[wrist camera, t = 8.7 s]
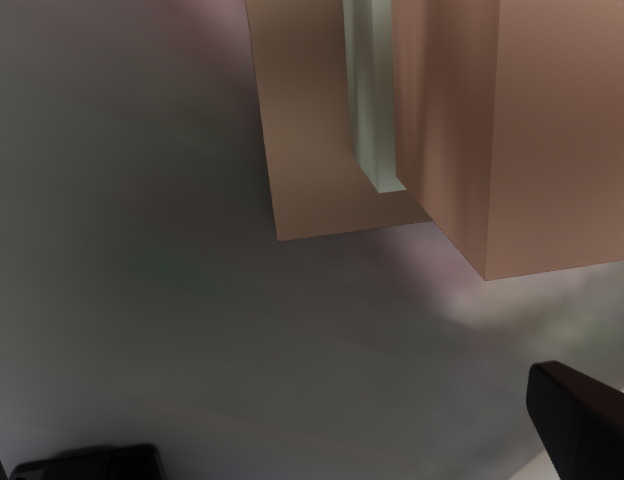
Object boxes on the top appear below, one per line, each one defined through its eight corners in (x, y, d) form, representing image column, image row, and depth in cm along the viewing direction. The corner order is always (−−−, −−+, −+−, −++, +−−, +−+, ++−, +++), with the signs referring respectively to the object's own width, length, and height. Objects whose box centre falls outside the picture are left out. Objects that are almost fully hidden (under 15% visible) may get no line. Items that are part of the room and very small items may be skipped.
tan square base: (567, 191, 22) (654, 244, 17) (275, 230, 21) (286, 297, 16) (615, -172, 16) (758, -233, 12) (227, -141, 15) (222, -195, 11)
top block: (564, 153, 15) (741, 242, 10) (395, 176, 15) (485, 281, 10) (587, -41, 13) (830, -64, 8) (390, -20, 13) (501, -28, 7)
